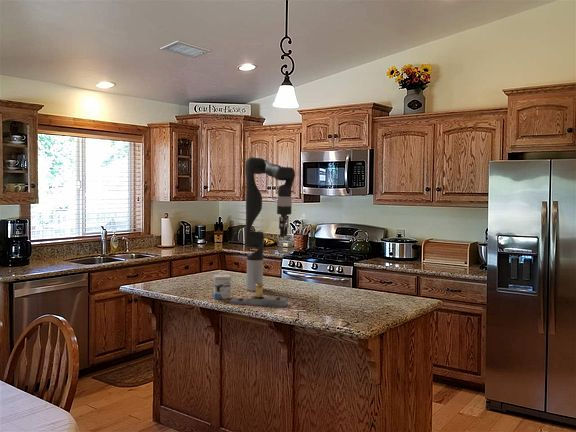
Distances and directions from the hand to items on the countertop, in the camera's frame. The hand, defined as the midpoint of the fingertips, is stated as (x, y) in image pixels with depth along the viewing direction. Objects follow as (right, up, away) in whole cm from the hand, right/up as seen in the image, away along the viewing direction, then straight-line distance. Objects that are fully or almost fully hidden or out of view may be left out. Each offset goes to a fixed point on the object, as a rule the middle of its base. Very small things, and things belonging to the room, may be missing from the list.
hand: (283, 236), depth 274 cm
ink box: (-32, -33, 0) cm, 46 cm away
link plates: (-12, -34, -13) cm, 38 cm away
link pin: (-12, -34, -12) cm, 38 cm away
